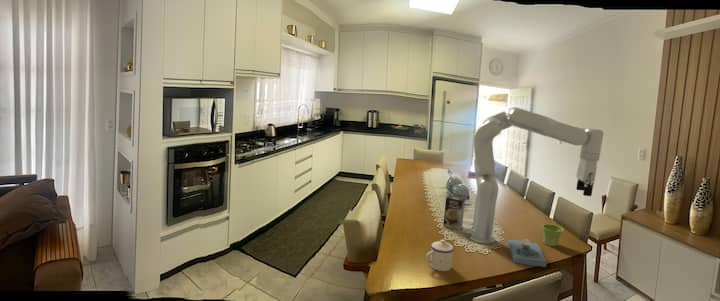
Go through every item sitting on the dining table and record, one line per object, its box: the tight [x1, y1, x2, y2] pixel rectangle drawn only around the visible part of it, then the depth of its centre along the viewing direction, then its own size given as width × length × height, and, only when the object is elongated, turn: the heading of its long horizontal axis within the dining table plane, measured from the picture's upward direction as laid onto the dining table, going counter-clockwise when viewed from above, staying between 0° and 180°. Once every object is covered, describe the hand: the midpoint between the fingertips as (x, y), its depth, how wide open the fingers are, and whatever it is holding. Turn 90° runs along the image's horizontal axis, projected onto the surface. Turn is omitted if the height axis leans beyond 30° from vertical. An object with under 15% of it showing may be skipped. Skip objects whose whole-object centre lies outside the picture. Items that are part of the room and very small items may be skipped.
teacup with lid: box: [425, 239, 454, 272], centre depth 156 cm, size 12×9×12 cm
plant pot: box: [541, 223, 565, 247], centre depth 186 cm, size 9×9×9 cm
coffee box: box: [442, 194, 466, 231], centre depth 202 cm, size 9×6×16 cm
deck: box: [507, 238, 548, 268], centre depth 173 cm, size 20×13×2 cm, turn 167°
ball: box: [520, 238, 532, 248], centre depth 174 cm, size 4×4×4 cm
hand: (583, 192), depth 174 cm, fingers open, 9 cm apart
